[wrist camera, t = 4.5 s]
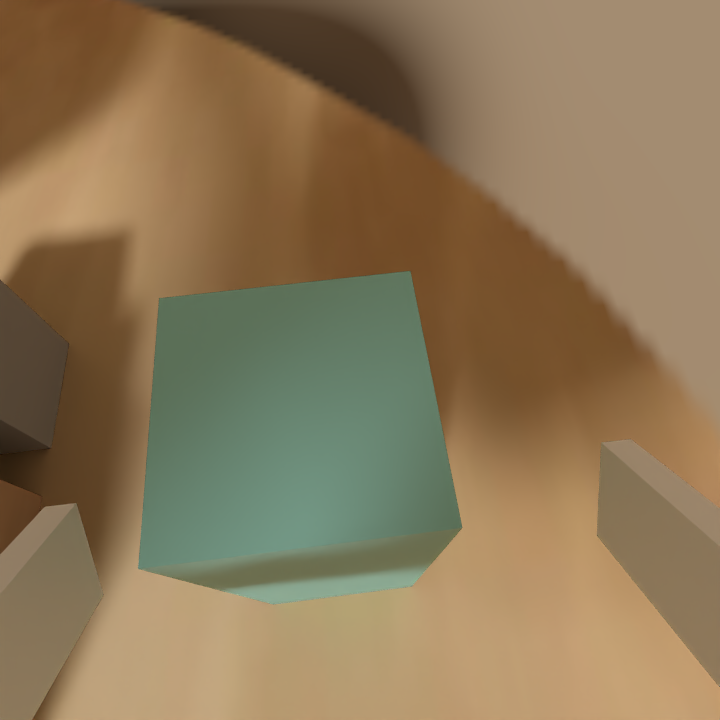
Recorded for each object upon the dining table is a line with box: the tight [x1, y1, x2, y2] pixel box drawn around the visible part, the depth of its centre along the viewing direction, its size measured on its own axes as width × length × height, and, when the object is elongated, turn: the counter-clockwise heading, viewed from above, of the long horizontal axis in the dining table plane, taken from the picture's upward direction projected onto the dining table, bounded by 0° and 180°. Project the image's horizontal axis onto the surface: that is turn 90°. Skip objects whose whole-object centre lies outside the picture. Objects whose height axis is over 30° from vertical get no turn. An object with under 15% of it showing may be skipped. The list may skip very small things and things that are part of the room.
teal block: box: [138, 271, 462, 604], centre depth 14 cm, size 5×5×12 cm
